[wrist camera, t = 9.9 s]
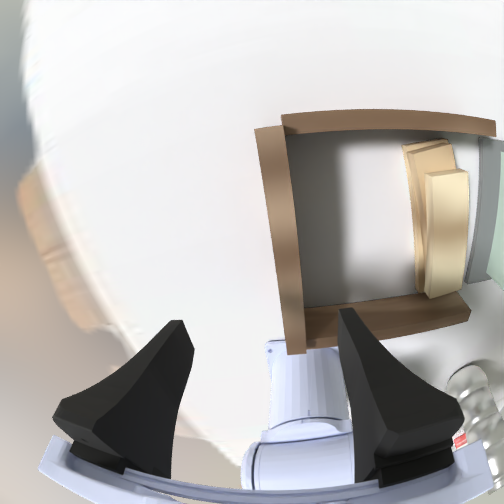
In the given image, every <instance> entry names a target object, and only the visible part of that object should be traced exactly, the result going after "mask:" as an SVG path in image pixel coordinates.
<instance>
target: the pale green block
mask: <svg viewBox="0 0 504 504" xmlns="http://www.w3.org/2000/svg"><path fill="white" fill-rule="evenodd" d="M486 273H487V274H488V275H489V276H490V277H491V278H492V279H493V280H494V281H495V282H496V283H497V284H498V285H499V286H500V287H501V288H502V290H503V291H504V152H501V172H500V190H499V201H498V210H497V218H496V225H495V232H494V238H493V243H492V248H491V253H490V258H489V262H488V267H487V271H486Z"/></svg>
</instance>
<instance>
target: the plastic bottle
mask: <svg viewBox="0 0 504 504" xmlns="http://www.w3.org/2000/svg"><path fill="white" fill-rule="evenodd" d="M446 393H447V394H448V395H450V396H452V397H454V398H456V399H457V401H458V403H459V405H460V406H461V409H462V411H463V414H464V417H465V420H464V423H463V425H462V426H463V428H464V432H465V433H466V439H467V443H468V444H471V443H473V442H475V441H477V440H479V439H482V442H483V445H484V448H485V451H486V455H487V458H488V462H489V466H490V470H491V474H492V478H493V482H494V487H493V488H491V489H490V490H488V494H489V495H490V494H491V493H493V492H495V491H497V490H498V489H500V488H501V487H503V486H504V420H503V419H502V416H501V414H500V413H499V412H498V411H499V410H498V409H497V407H496V404H495V401H494V399H493V396H492V393H491V390H490V388H489V382H488V379H487V376H486V374H485V372H484V371H483V370H482V369H481V367H479V366H476V365H469V366H467V367H465V368H463V369H461V370H459V371H458V372H457V373H456V374H454V375H453V376H452V377H451V379H450V380H449V381H448V384H447V388H446Z"/></svg>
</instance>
